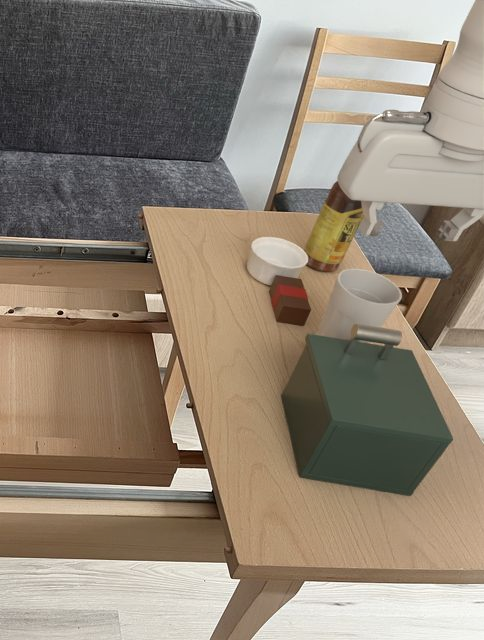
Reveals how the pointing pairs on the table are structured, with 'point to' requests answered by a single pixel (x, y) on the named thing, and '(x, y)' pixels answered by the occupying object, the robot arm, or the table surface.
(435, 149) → the robot arm
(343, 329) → the cup
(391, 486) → the trash can
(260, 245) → the ramekin
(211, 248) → the table surface
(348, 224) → the sauce bottle
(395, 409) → the bin lid
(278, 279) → the chocolate bar
